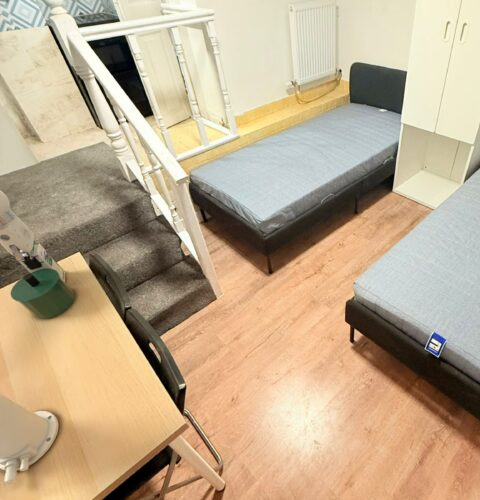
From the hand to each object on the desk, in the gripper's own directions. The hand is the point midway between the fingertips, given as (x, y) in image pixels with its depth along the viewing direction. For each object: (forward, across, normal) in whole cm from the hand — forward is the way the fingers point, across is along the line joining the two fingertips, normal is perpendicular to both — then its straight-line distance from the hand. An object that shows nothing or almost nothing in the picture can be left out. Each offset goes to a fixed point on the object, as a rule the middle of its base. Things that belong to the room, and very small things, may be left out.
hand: (37, 260), depth 107 cm
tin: (+10, -11, 0) cm, 15 cm away
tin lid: (+1, -11, 0) cm, 11 cm away
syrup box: (+10, 0, 0) cm, 10 cm away
